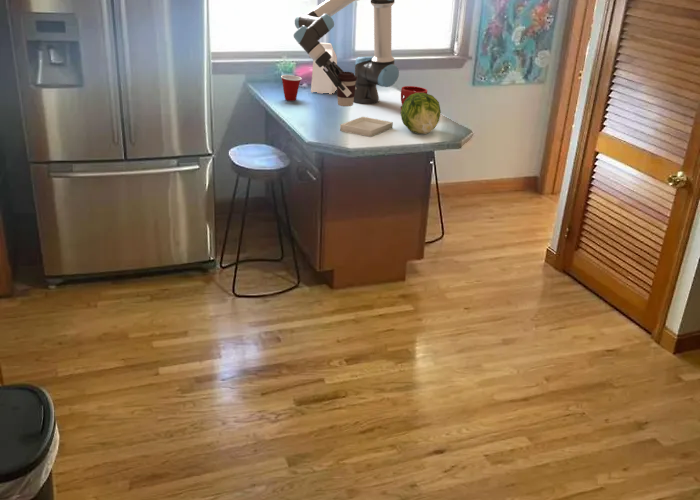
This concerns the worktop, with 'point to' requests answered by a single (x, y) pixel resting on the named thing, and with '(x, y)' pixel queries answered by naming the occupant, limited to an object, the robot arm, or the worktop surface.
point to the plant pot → (410, 92)
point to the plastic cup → (290, 86)
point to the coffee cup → (349, 82)
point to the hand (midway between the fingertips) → (352, 92)
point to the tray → (366, 126)
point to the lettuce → (420, 113)
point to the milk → (323, 74)
